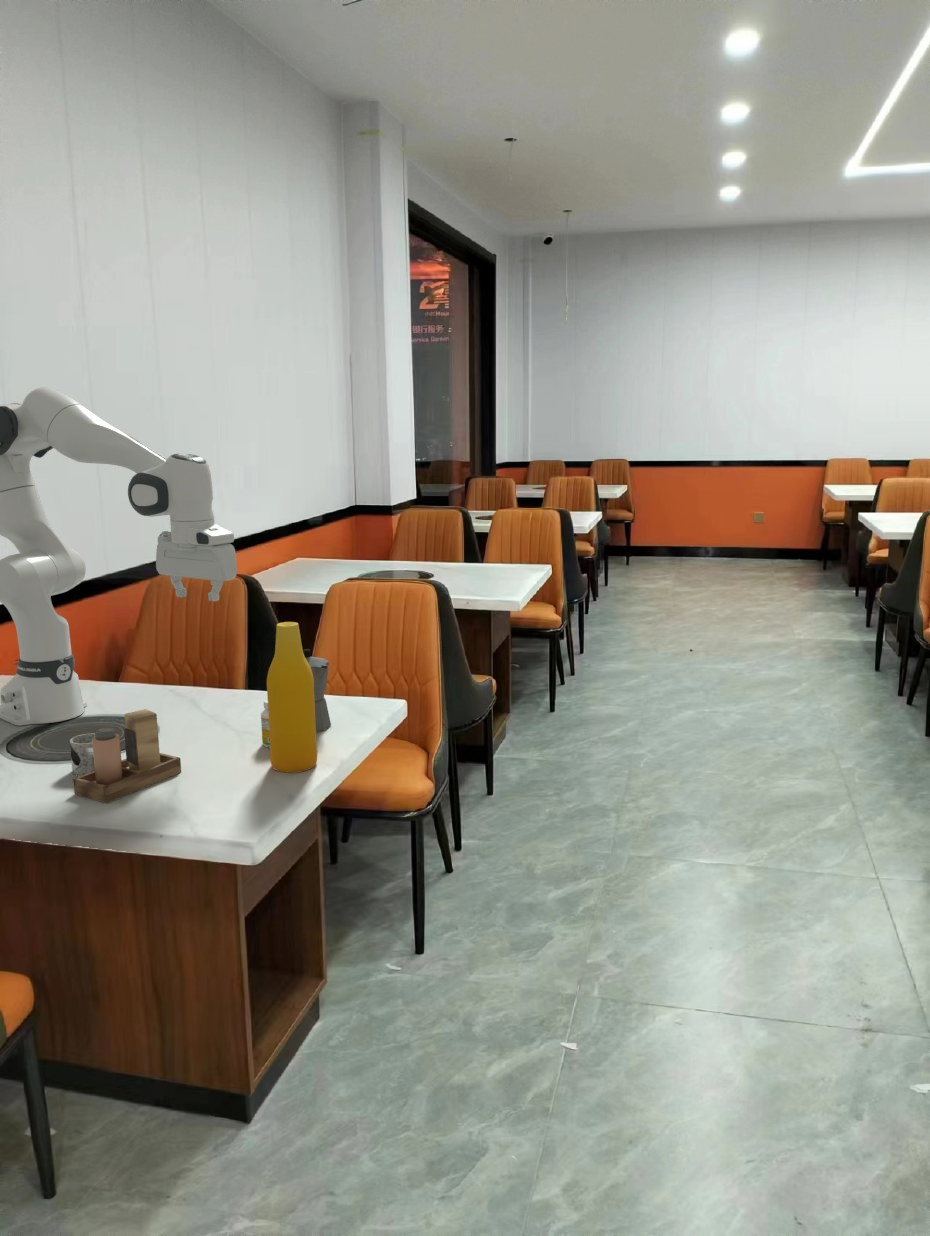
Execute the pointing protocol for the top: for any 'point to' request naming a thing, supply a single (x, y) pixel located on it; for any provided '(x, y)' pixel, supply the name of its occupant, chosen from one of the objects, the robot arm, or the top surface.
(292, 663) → the beer bottle
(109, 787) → the wooden tray
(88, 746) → the mug
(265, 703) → the supplement bottle
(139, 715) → the oak block
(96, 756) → the terracotta shaker
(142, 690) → the top surface
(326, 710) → the coffeepot
